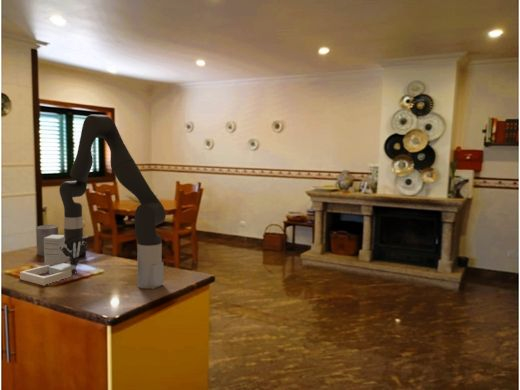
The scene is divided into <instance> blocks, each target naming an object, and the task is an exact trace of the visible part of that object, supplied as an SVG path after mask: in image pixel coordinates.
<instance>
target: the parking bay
mask: <svg viewBox="0 0 520 390" xmlns="http://www.w3.org/2000/svg"><path fill="white" fill-rule="evenodd" d="M50 266H51V265H45V264H44V265H42V266H38V267H34V268H30V269H26V270H22V271H20V272H19V278H20V280H22V281H25V282H29V283H33V284H36V285H40V286H47V285H46V284H48V285H50V284H49V283H51V284H53V283H52V282H54V283H56V282H55V281H57V282H59V281H58V280H61V279H64V278H67V277H71V276H72V275H73V274H72V273H71V270H67V271H63V272H60V273H56V274H53V275H52V274H49V275H45V276H44V275H43V274H42V273H45V274H47V273H46V272H48V273H49V267H50ZM38 274H41V275H38ZM72 277H73V276H72ZM72 277H71V278H72ZM67 279H68V278H67ZM64 280H65V279H64ZM61 281H62V280H61Z"/></svg>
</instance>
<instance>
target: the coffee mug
mask: <svg viewBox="0 0 520 390" xmlns="http://www.w3.org/2000/svg"><path fill="white" fill-rule="evenodd" d="M82 238H83V241H84V242H87V243H88V235H84V234H83V237H82ZM87 247H88V245H87V246H86V248H85V249H84V251H83V253H82V254H81V255H79V256H78V260H79V259H84V258H86V257H87V256H86V255H87ZM80 251H81V250H80Z"/></svg>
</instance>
